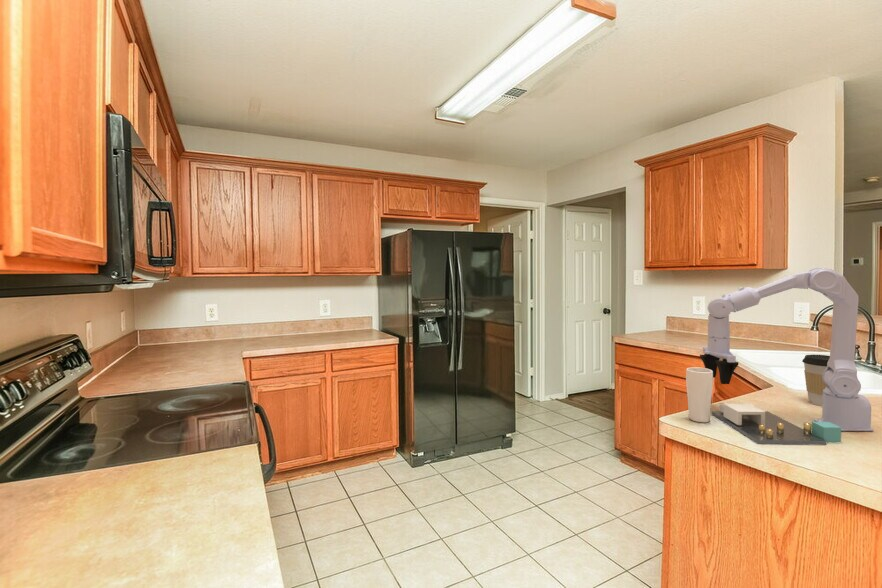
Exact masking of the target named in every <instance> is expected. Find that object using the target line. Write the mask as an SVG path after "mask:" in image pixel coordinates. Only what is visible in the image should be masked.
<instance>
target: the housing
mask: <svg viewBox="0 0 882 588" xmlns="http://www.w3.org/2000/svg"><path fill="white" fill-rule="evenodd" d="M718 407H719V408H718V409H719V410H718V411H721V412H722V413H723V416H724V417H725V418H727V419H729V420H730V421H732V422H733V423H735V424H737V425H742V418H749V419H751V420H752V421H754V422H756V423H758V424H762V425H765V411H764V410H762V409H760V408H758V407H757V406H755V405H753V404H751V403H723V404H722V403H719V406H718Z"/></svg>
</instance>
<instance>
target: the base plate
mask: <svg viewBox="0 0 882 588" xmlns="http://www.w3.org/2000/svg"><path fill="white" fill-rule="evenodd" d="M711 415H712V416H713V417H715V418H717V419H718V420H720V421H721V422H723V423H724V424H725V425H728V426H729V427H731V428H732V429H734V430H736V431H737V432H739V433H740V434H741V435H742V436H745V437H746V438H747V439H750V440H751V441H752V442H754V443H756V444H757V445H803V444H826V445H827V443H826V440H824V439H822V438H820V437H818V436H816V435H814V434H812V423H811V422H803V428H802V427H799V426H798V425H796V424H793V423H792V422H790V421H787V419H786V420H785V419H784V418H782V417H780V416H778V415H776V414H774V413H772V412H770V411H768V410H767V411H765V425H762V424H758V423H756V422H754V421H752V420H751V419H749V418H742V425H737V424H735V423H733V422H732V421H730V420H729V419H727V418H725V417H724V416H723V413H722V412H721V411H719V410H712V411H711Z"/></svg>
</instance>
